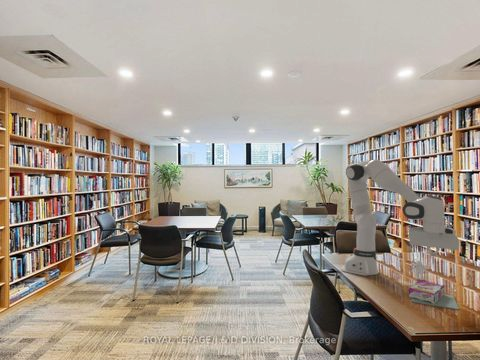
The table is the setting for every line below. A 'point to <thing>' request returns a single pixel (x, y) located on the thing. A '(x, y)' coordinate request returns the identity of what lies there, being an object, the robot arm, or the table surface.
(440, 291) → the candy bar box
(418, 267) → the white figurine
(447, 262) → the table surface
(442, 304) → the desk pad
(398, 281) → the table surface
